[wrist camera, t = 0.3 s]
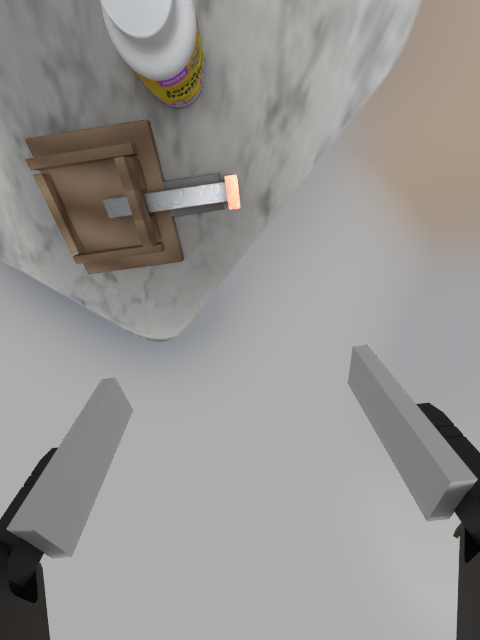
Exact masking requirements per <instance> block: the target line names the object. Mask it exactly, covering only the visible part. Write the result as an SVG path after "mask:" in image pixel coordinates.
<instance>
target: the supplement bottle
mask: <svg viewBox="0 0 480 640" xmlns="http://www.w3.org/2000/svg"><path fill="white" fill-rule="evenodd" d="M100 2H101V8H102V14H103V18H104V22H105V25H106V29H107V31H108V34H109V36H110V38H111V40H112V42H113V44H114V46H115V48H116V50H117V51H118V53H119V54H120V55H121V57H122V58H123V59H124V61H125V62H126V63H127V64H128V65H129V67H130V68H131V69H132V70H133V71H134V72H135V74H136V75H137V76H138V77H139V78H140V79H141V81H142V82H143V83H144V84H145V85H146V86H147V88H148V89H149V90H150V91H151V92H152V93H153V94H154V96H155V97H156V98H158V99H159V100H160V101H161V102H163V103H164V104H166V105H169V106H172V107H184V106H187V105H189V104H190V103H192V102H193V101H194V100H195V99H196V98H197V96H198V95H199V93H200V91H201V89H202V86H203V83H204V78H205V61H204V54H203V49H202V44H201V39H200V34H199V29H198V23H197V18H196V13H195V7H194V3H193V0H100Z"/></svg>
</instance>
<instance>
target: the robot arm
mask: <svg viewBox="0 0 480 640" xmlns="http://www.w3.org/2000/svg"><path fill="white" fill-rule="evenodd" d="M348 384H349V385H350V388H351V389H352V391H353V393H354V395H355V396H356V398H357V400H358V402H359V403H360V405H361V407H362V409H363V410H364V412H365V414H366V416H367V417H368V419H369V421H370V423H371V424H372V426H373V428H374V430H375V431H376V433H377V435H378V437H379V438H380V440H381V442H382V444H383V445H384V447H385V449H386V451H387V452H388V454H389V456H390V457H391V459H392V461H393V463H394V465H395V466H396V468H397V470H398V471H399V473H400V475H401V477H402V479H403V480H404V482H405V484H406V485H407V487H408V489H409V491H410V492H411V494H412V496H413V498H414V499H415V501H416V503H417V505H418V506H419V508H420V510H421V512H422V513H423V515H424V517H425V519H426V520H427V521H434V520H444V519H449V518H450V517H451V516H452V514H453V513H454V511H455V513H456V514H457V516H458V517H459V519H460V520H461V524H460V525H459V526H458V527H457V529H456V530H455V533H454V535H453V536H454V537H456V538H458V537H459V536H460V550H459V581H458V611H457V639H456V640H480V453H479V451H478V450H477V449H476V448H475V447H474V446H473V445H472V444H471V443H470V442H469V441H468V440H467V438H466V437H464V436H463V434H462V433H461V432H460V431H459V429H458V428H457V427H455V426H454V424H453V423H452V422H451V421H450V420H449V418H448V417H447V416H446V415H445V414H444V413H443V412H442V411H440V410H439V409H437V408H436V407H434V406H433V405H431V404H430V403H422V404H415V402H414V401H413V400H412V399H411V397H410V396H409V395H408V394H407V393H406V391H405V390H404V389H403V388H402V386H401V385H400V384H399V383H398V382H397V380H396V379H395V378H394V377H393V375H392V374H391V373H390V372H389V371H388V369H387V368H386V367H385V366H384V365H383V363H382V362H381V361H380V360H379V358H378V357H377V356H376V355H375V354H374V352H373V351H372V350H371V349H370V347H369V346H368V345H362V346H354V347H353V349H352V357H351V364H350V372H349V380H348ZM132 411H133V409H132V407H131V405H130V404H129V402H128V400H127V398H126V396H125V395H124V393H123V391H122V389H121V387H120V386H119V384H118V382H117V380H116V379H115V378H108V379H102V380H101V382H100V383H99V385H98V386H97V388H96V390H95V391H94V392H93V394H92V396H91V397H90V399H89V400H88V402H87V403H86V405H85V407H84V408H83V410H82V411H81V413H80V414H79V416H78V417H77V419H76V421H75V422H74V424H73V425H72V427H71V428H70V430H69V432H68V433H67V435H66V436H65V438H64V439H63V441H62V443H61V444H60V446H59V447H58V448H52V449H51V450H50V451H49V452H48V453H47V454H46V455H45V456H44V457H43V458H42V459H41V460H40V461H39V463H38V464H37V466H36V467H35V469H34V470H33V472H32V473H31V476H29V478H28V479H27V480H26V482H25V484H24V487H22V488H21V489H20V491H19V492H18V494H17V495H16V497H15V498H14V500H13V501H12V503H11V504H10V506H9V507H8V509H7V510H6V512H5V513H4V515H3V516H2V518H1V519H0V640H50V636H49V626H48V617H47V607H46V598H45V587H44V579H43V569H42V566H41V563H39V562H40V560H41V558H42V556H43V554H44V553H45V554H46V555H48V556H49V557H51V558H62V557H71V556H72V555H73V553H74V550H75V548H76V545H77V543H78V541H79V538H80V536H81V533H82V531H83V529H84V526H85V524H86V522H87V519H88V517H89V515H90V512H91V510H92V507H93V505H94V502H95V500H96V498H97V495H98V493H99V491H100V488H101V486H102V483H103V481H104V479H105V476H106V474H107V471H108V469H109V467H110V464H111V462H112V460H113V457H114V454H115V452H116V450H117V448H118V445H119V442H120V440H121V438H122V436H123V433H124V431H125V428H126V426H127V424H128V421H129V419H130V416H131V414H132Z"/></svg>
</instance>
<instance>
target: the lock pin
mask: <svg viewBox="0 0 480 640" xmlns="http://www.w3.org/2000/svg"><path fill="white" fill-rule="evenodd" d="M224 177H225V182H222V183H215V184H208V185H201V186H195V187H188V188H181V189H175V190H168V191H161V192H154V193H148V194H143V198H144V201H145V204H146V208H147V211H148V213H149V212H156V211H163V210H170V209H176V208H183V207H190V206H197V205H204V204H211V203H218V202H224V201H228V206H229V210H233V209H240V208H241V207H240V199H239V190H238V181H237V175H230V176H224ZM103 202H104V205H105V208H106V210H107V213H108V216H109V218H115V217H121V216H128V215H132V212H131V209H130V206H129V203H128V200H127V197H121V198H114V199H107V200H103Z"/></svg>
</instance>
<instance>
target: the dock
mask: <svg viewBox="0 0 480 640" xmlns="http://www.w3.org/2000/svg"><path fill="white" fill-rule="evenodd" d="M25 140H26V142H27V144H28V147H29V149H30V151H31V153H32V155H33V157H34V158H30V159H26V161H27V164H28V166H29V168H30V170H40V172H41V174H35V175H33V176H34V178H35V180H36V182H37V184H38V186H39V188H40V190H41V192H42V194H43V197H44V199H45V201H46V203H47V205H48V207H49V209H50V211H51V213H52V215H53V217H54V219H55V221H56V223H57V225H58V227H59V229H60V232H61V234H62V236H63V238H64V240H65V242H66V244H67V246H68V248H69V250H70V252H71V253H75V252H78V253H79V254H77V255H75V256H73V258H74V260H75V262H76V264H80V263H83V264H84V266H85V268H86V270H87V272H88V274H94V273H101V272H108V271H115V270H123V269H130V268H137V267H144V266H152V265H159V264H166V263H173V262H181V261H183V260H184V257H183V253H182V249H181V245H180V241H179V237H178V233H177V229H176V225H175V221H174V217H173V216H179V215H186V214H193V213H200V212H207V211H214V210H221V209H224V204H223V202H218V203H211V204H204V205H197V206H190V207H183V208H176V209H170V210H163V211H156V212H149V213H148V211H147V208H146V204H145V201H144V198H143V194H148V193H154V192H161V191H168V190H175V189H181V188H188V187H195V186H201V185H208V184H215V183H220V177H219V173H218V174H211V175H204V176H198V177H191V178H184V179H178V180H171V181H164V177H163V173H162V169H161V165H160V161H159V157H158V153H157V149H156V145H155V141H154V137H153V133H152V129H151V125H150V122H149V121H148V120H141V121H135V122H128V123H122V124H116V125H110V126H103V127H97V128H91V129H85V130H78V131H72V132H66V133H60V134H53V135H47V136H41V137H35V138H28V139H25ZM121 197H127V200H128V203H129V206H130V209H131V212H132V215H128V216H121V217H115V218H109V216H108V213H107V210H106V208H105V205H104V202H103V200H107V199H114V198H121Z"/></svg>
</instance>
